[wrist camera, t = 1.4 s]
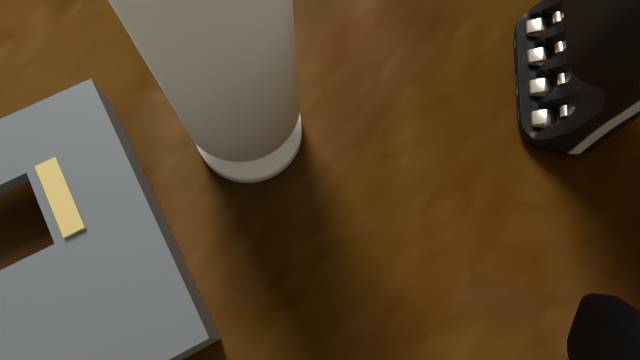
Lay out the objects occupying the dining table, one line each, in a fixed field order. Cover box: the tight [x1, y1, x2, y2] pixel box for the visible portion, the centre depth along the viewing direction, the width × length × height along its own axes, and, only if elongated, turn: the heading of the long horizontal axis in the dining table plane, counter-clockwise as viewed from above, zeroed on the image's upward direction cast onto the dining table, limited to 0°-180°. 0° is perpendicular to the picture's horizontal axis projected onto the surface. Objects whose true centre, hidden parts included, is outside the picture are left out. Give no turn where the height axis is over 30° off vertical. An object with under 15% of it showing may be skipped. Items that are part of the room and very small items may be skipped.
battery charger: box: [514, 0, 640, 154], centre depth 19 cm, size 7×4×11 cm, turn 177°
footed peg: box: [108, 0, 302, 183], centre depth 16 cm, size 4×4×16 cm
